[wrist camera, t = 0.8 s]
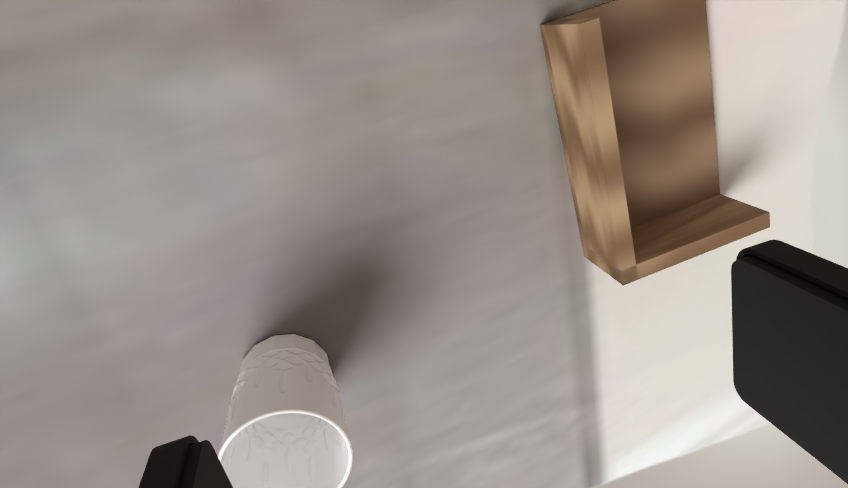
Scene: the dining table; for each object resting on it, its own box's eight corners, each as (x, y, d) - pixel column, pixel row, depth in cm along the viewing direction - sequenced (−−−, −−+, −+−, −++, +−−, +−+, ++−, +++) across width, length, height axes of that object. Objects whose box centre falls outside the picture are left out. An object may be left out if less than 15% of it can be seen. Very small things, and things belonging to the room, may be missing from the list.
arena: (539, 25, 37) (580, 23, 32) (697, -28, 38) (760, -38, 33) (584, 256, 44) (623, 285, 39) (715, 205, 46) (769, 226, 41)
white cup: (337, 321, 41) (352, 402, 32) (339, 409, 44) (353, 507, 35) (226, 330, 40) (209, 419, 31) (235, 421, 42) (222, 527, 33)
